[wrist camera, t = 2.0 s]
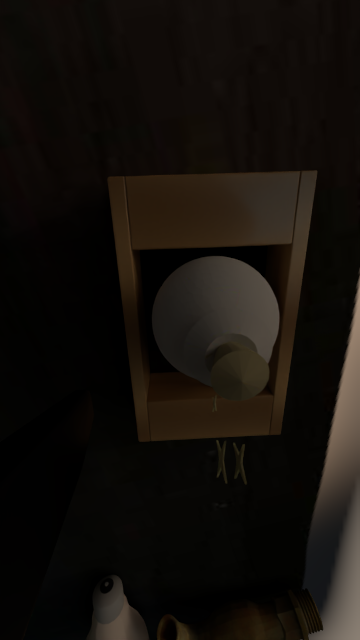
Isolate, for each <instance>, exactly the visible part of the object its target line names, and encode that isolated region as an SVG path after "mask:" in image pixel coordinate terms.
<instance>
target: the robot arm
mask: <svg viewBox="0 0 360 640" xmlns="http://www.w3.org/2000/svg"><path fill="white" fill-rule="evenodd" d="M93 419H94V410H93V405H92V399H91V394H90V392H89V391H88V390H76V391H74V392H72V393H71V394H69V395H68V396H67V397H65V398H64V399H62V400H61V401H59V402H58V403H56V404H55V405H53V406H52V407H51V408H49V409H48V410H46V411H45V412H43V413H42V414H40V415H39V416H38V417H36V418H35V419H33V420H32V421H30V422H29V423H27V424H26V425H24V426H23V427H22V428H20V429H19V430H17V431H16V432H14V433H13V434H11V435H10V436H8V437H7V438H6V439H4V440H3V441H1V442H0V640H23V638H24V635H25V632H26V629H27V626H28V623H29V620H30V617H31V615H32V612H33V609H34V606H35V603H36V600H37V597H38V594H39V591H40V589H41V586H42V583H43V580H44V577H45V574H46V571H47V568H48V565H49V562H50V560H51V557H52V554H53V551H54V548H55V545H56V542H57V539H58V536H59V534H60V531H61V528H62V525H63V522H64V519H65V516H66V513H67V510H68V507H69V505H70V502H71V499H72V496H73V493H74V490H75V487H76V484H77V481H78V479H79V476H80V472H81V469H82V466H83V462H84V458H85V454H86V449H87V445H88V441H89V436H90V432H91V428H92V423H93Z"/></svg>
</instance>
